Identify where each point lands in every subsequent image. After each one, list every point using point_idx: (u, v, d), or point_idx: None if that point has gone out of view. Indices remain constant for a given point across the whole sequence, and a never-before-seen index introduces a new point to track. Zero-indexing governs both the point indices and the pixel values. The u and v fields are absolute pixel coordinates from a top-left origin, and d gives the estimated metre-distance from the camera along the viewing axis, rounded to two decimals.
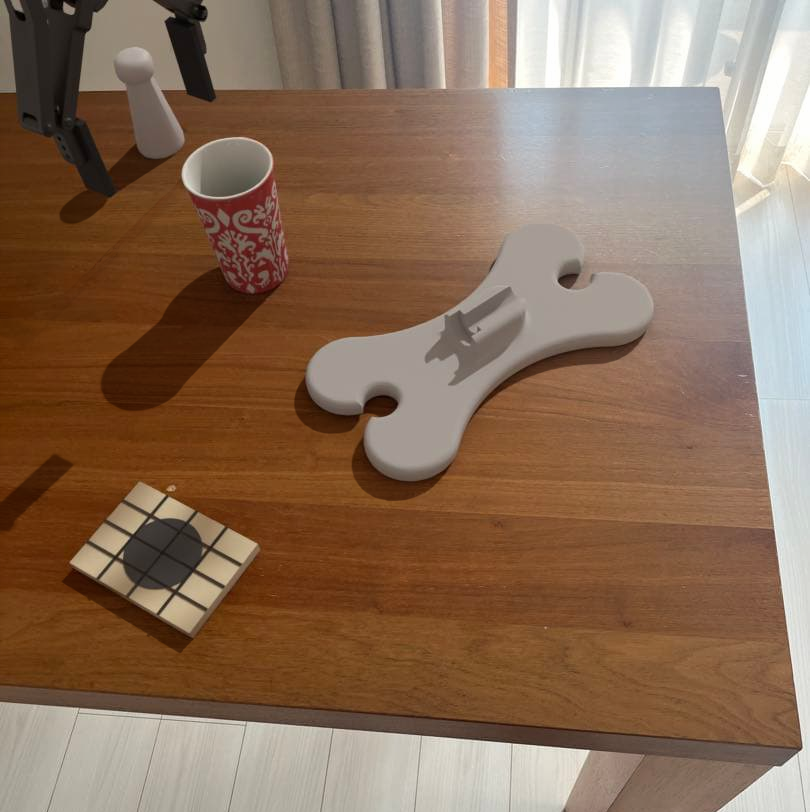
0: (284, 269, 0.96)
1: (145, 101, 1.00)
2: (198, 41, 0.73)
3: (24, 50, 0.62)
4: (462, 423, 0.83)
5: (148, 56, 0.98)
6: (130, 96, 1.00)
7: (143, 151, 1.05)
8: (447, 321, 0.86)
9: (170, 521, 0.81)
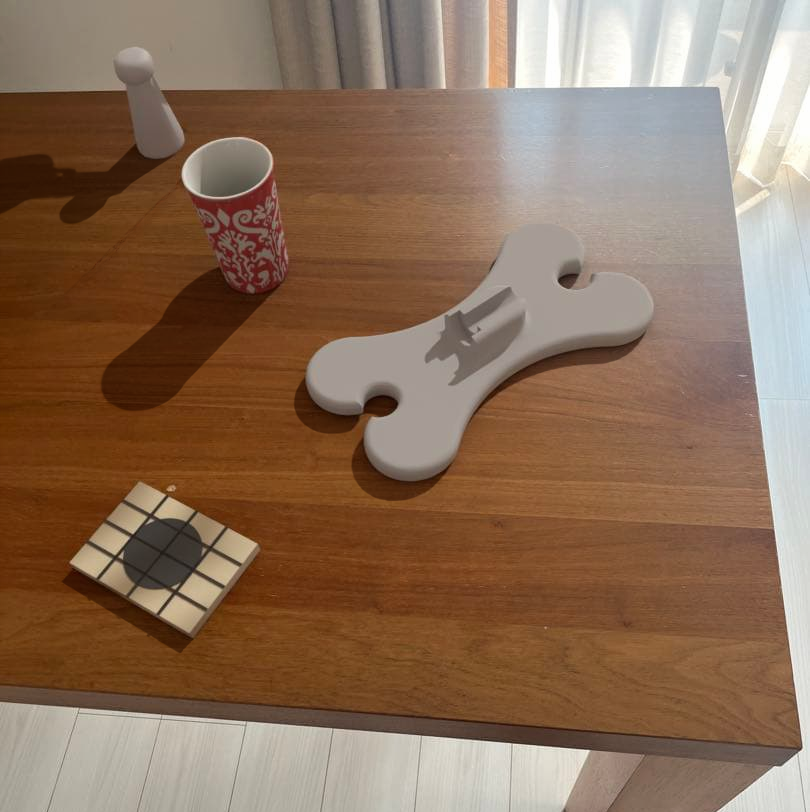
0: (284, 269, 0.96)
1: (145, 101, 1.00)
2: None
3: None
4: (462, 423, 0.83)
5: (148, 56, 0.98)
6: (130, 96, 1.00)
7: (143, 151, 1.05)
8: (447, 321, 0.86)
9: (170, 521, 0.81)
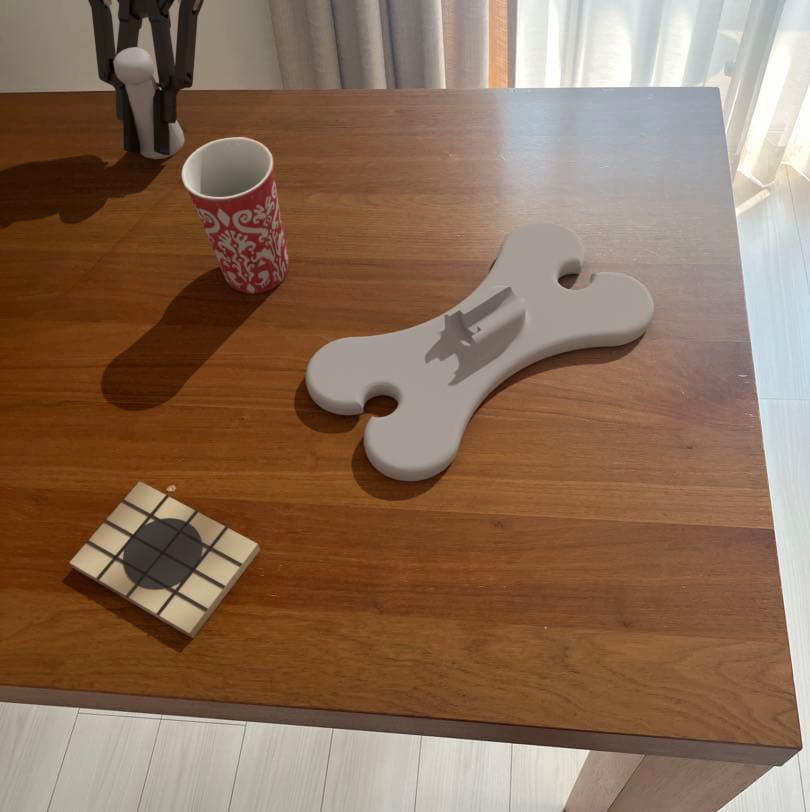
0: (284, 269, 0.96)
1: (145, 101, 1.00)
2: (157, 102, 1.01)
3: None
4: (462, 423, 0.83)
5: (148, 56, 0.98)
6: (130, 96, 1.00)
7: (143, 151, 1.05)
8: (447, 321, 0.86)
9: (170, 521, 0.81)
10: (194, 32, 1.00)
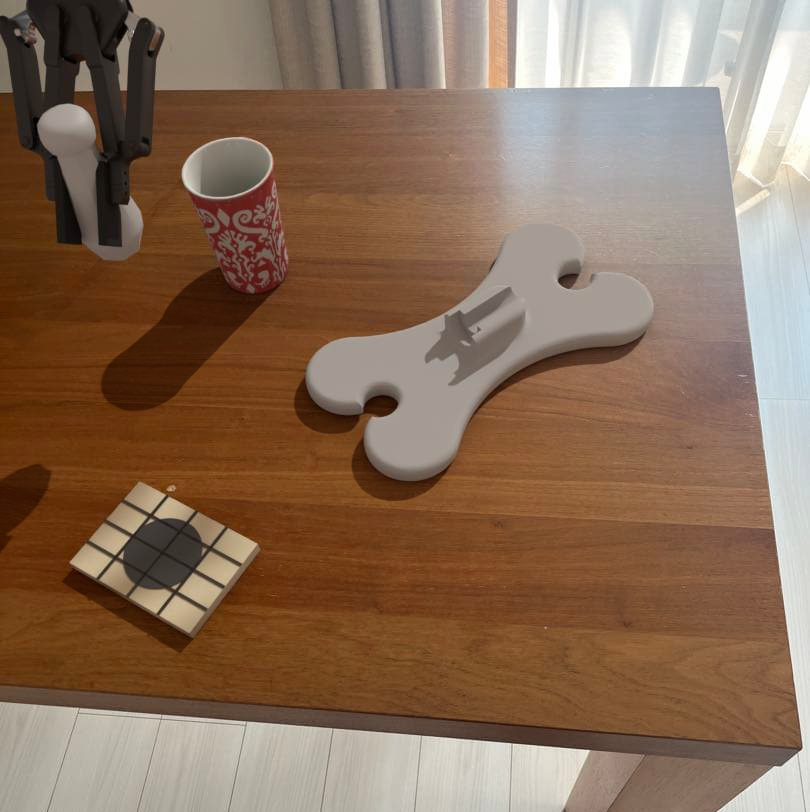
0: (284, 269, 0.96)
1: (85, 177, 0.72)
2: (102, 179, 0.72)
3: None
4: (462, 423, 0.83)
5: (86, 117, 0.69)
6: (63, 171, 0.72)
7: (86, 241, 0.77)
8: (447, 321, 0.86)
9: (170, 521, 0.81)
10: (152, 81, 0.71)
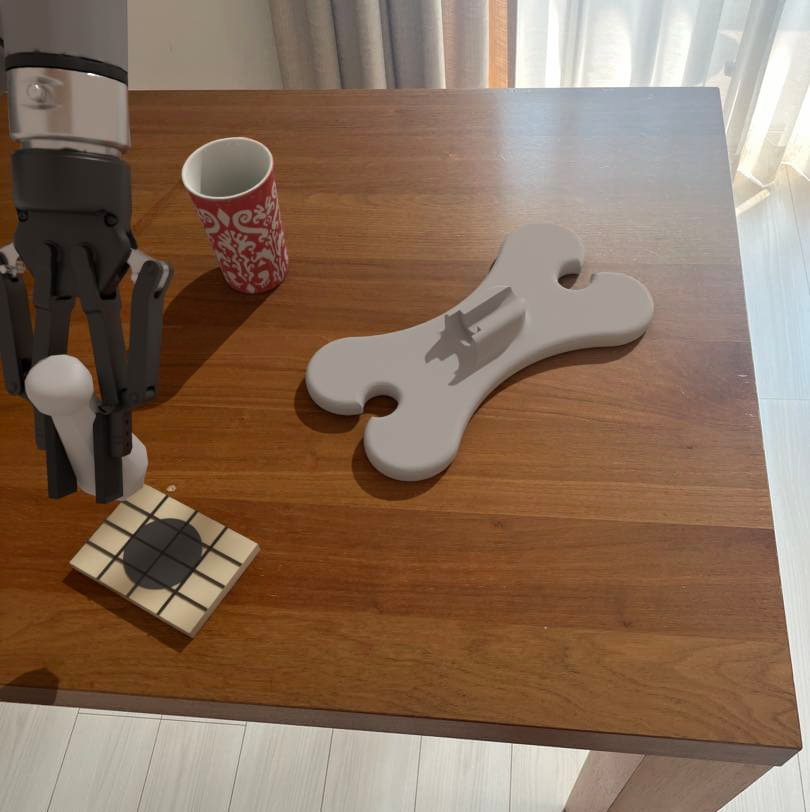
0: (284, 269, 0.96)
1: (80, 432, 0.62)
2: (100, 432, 0.62)
3: None
4: (462, 423, 0.83)
5: (82, 373, 0.59)
6: (56, 425, 0.62)
7: (82, 487, 0.67)
8: (447, 321, 0.86)
9: (170, 521, 0.81)
10: (159, 322, 0.61)
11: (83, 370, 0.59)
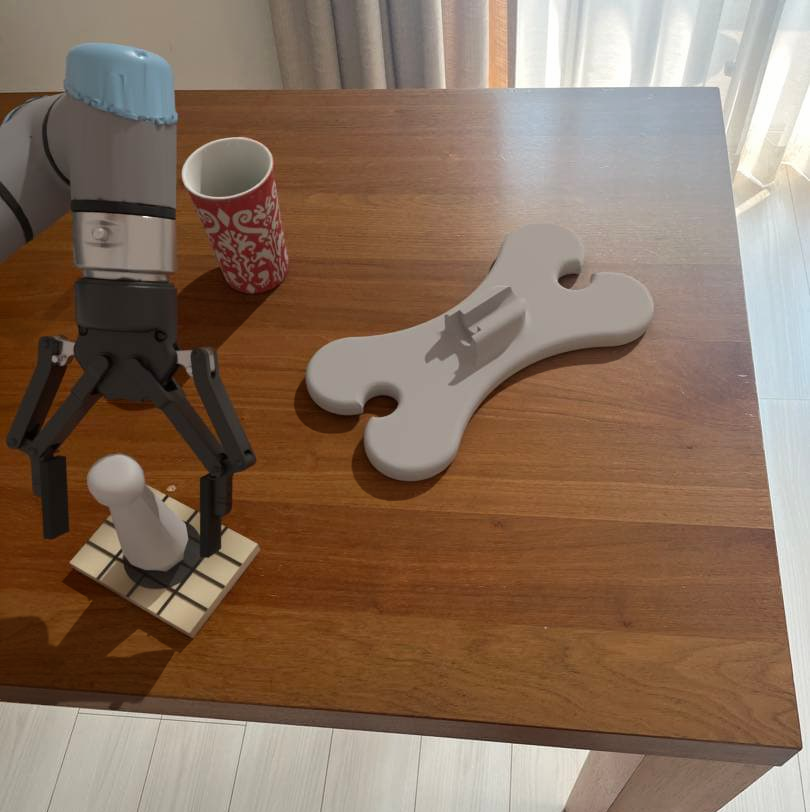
0: (284, 269, 0.96)
1: (133, 519, 0.71)
2: (206, 495, 0.69)
3: None
4: (462, 423, 0.83)
5: (136, 471, 0.68)
6: (111, 512, 0.71)
7: (130, 561, 0.76)
8: (447, 321, 0.86)
9: None
10: (226, 397, 0.69)
11: (137, 468, 0.69)
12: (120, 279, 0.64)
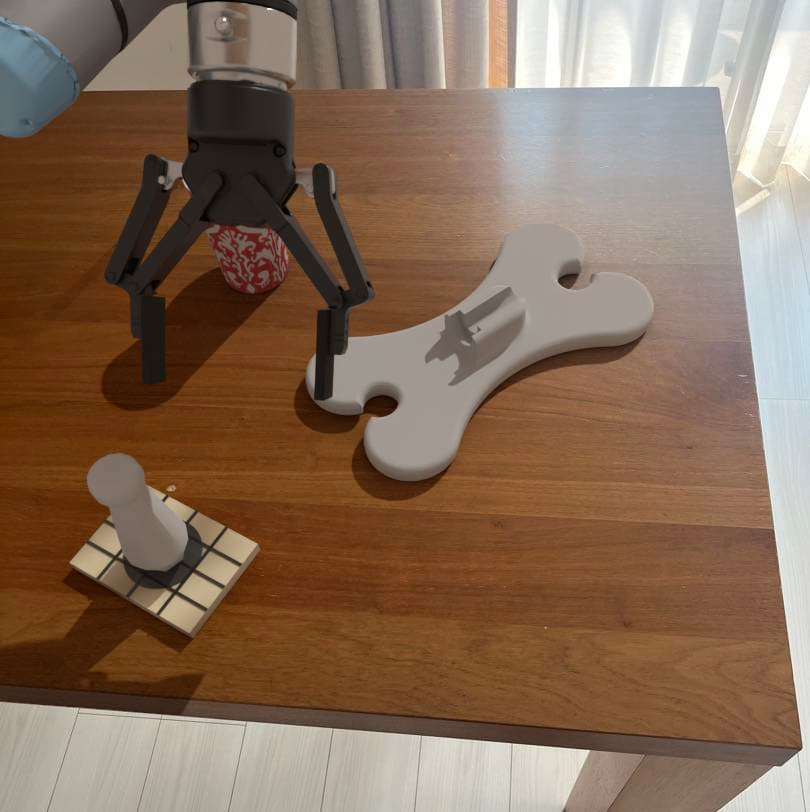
0: (284, 269, 0.96)
1: (133, 519, 0.71)
2: (324, 329, 0.64)
3: None
4: (462, 423, 0.83)
5: (136, 471, 0.68)
6: (111, 512, 0.71)
7: (130, 561, 0.76)
8: (447, 321, 0.86)
9: None
10: (346, 223, 0.64)
11: (137, 468, 0.69)
12: (241, 80, 0.59)
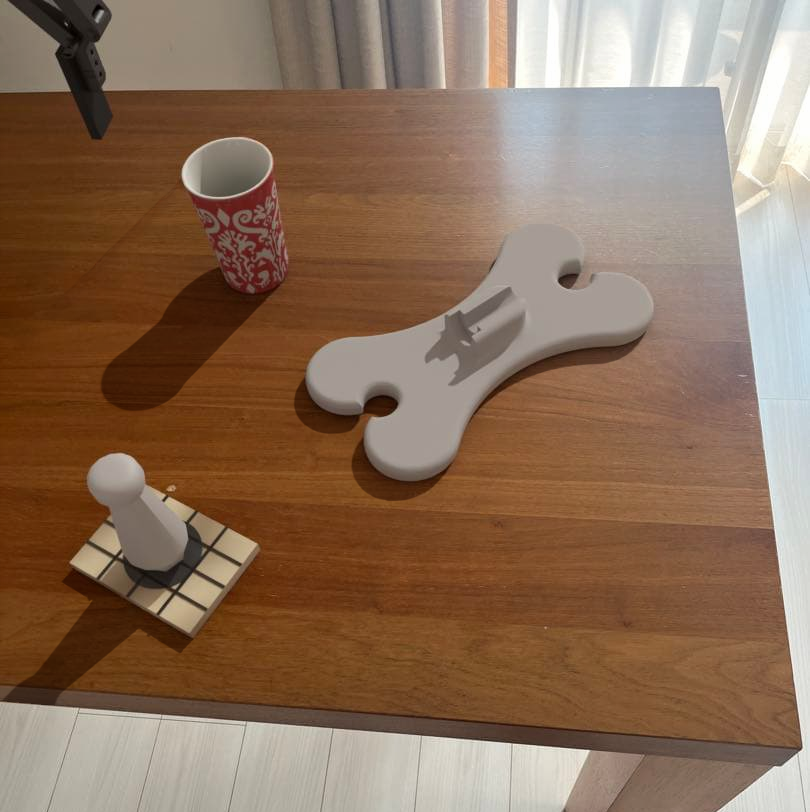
0: (284, 269, 0.96)
1: (133, 519, 0.71)
2: (70, 72, 0.60)
3: None
4: (462, 423, 0.83)
5: (136, 471, 0.68)
6: (111, 512, 0.71)
7: (130, 561, 0.76)
8: (447, 321, 0.86)
9: None
10: None
11: (137, 468, 0.69)
12: None
